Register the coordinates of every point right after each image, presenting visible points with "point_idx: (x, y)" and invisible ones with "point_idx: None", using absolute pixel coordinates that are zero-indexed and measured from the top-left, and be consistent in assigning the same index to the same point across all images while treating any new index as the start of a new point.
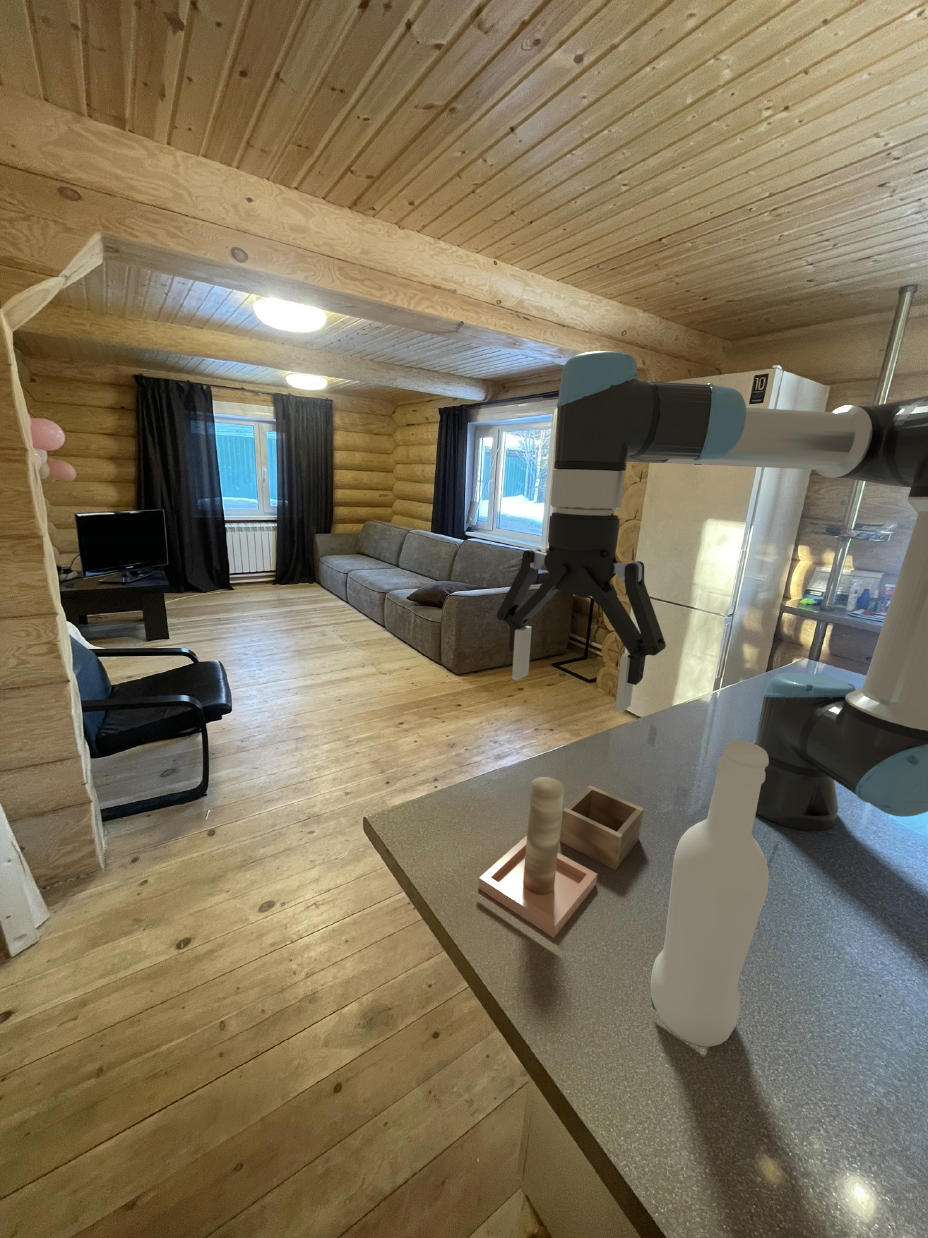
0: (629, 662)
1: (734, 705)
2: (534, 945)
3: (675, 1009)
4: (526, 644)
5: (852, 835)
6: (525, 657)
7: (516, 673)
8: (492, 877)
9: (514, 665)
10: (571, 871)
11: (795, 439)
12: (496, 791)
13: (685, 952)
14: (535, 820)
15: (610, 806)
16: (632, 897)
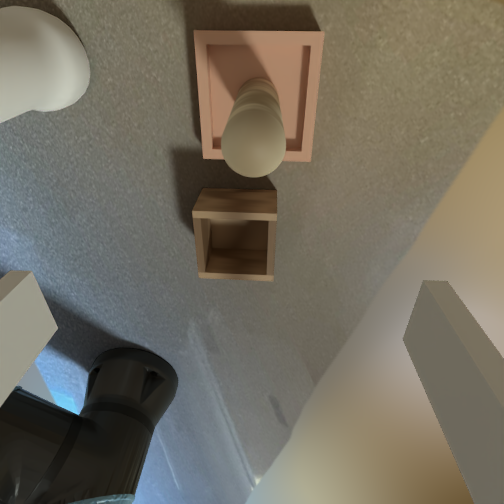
0: None
1: (232, 481)
2: (214, 7)
3: (22, 7)
4: (475, 453)
5: (79, 364)
6: (443, 387)
7: (440, 300)
8: (310, 51)
9: (470, 325)
10: None
11: None
12: (397, 229)
13: None
14: (257, 98)
15: (240, 266)
16: (171, 169)
